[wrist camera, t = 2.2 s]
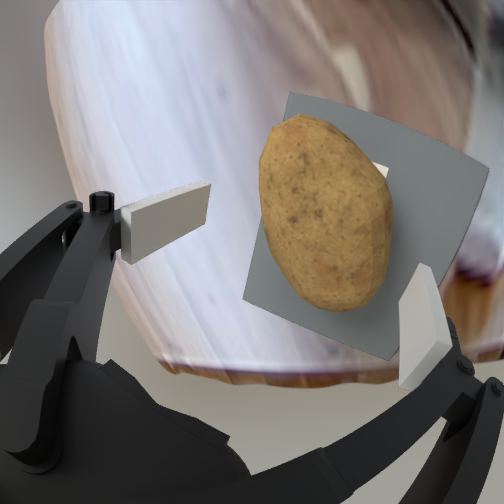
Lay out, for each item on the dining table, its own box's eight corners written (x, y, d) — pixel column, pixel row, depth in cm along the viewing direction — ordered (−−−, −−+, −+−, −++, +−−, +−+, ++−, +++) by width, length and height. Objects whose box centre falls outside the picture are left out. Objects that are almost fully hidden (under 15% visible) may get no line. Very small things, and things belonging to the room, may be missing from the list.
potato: (364, 104, 18) (358, 86, 11) (403, 267, 22) (408, 321, 15) (257, 137, 23) (206, 141, 16) (303, 281, 27) (273, 331, 20)
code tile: (290, 92, 20) (289, 91, 20) (487, 167, 15) (489, 168, 15) (243, 298, 31) (242, 299, 31) (388, 359, 26) (388, 361, 26)
